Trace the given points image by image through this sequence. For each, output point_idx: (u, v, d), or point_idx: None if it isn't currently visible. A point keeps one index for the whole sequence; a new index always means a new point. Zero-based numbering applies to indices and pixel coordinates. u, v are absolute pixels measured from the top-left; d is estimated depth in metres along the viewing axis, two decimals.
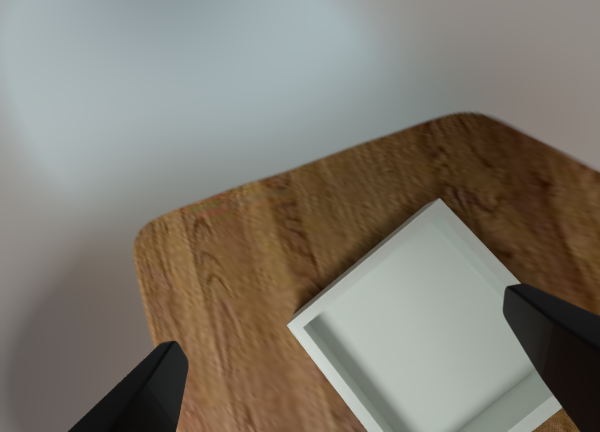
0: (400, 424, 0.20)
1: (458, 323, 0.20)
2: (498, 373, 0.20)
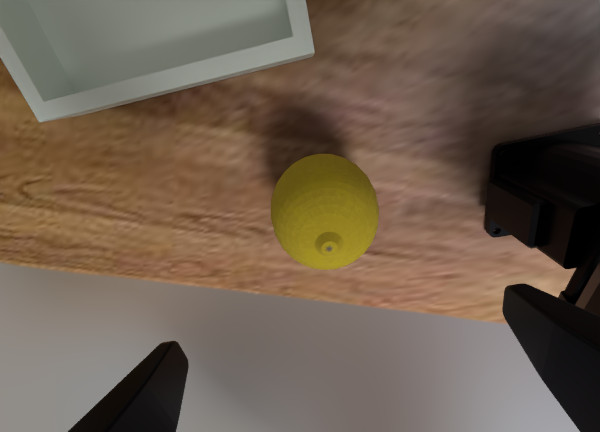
0: (242, 41, 0.15)
1: None
2: None
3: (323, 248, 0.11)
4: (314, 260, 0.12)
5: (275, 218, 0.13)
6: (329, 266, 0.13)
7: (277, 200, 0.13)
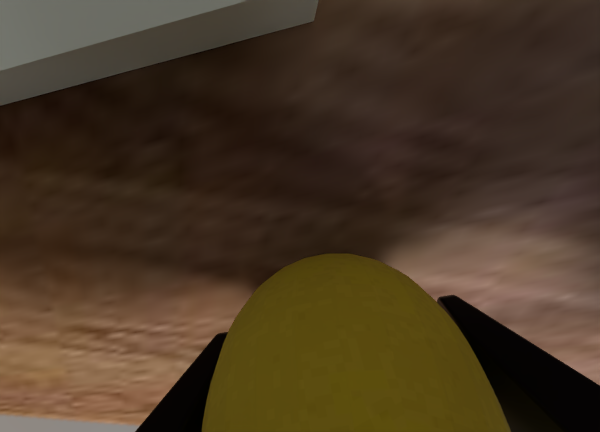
0: None
1: None
2: None
3: None
4: None
5: None
6: None
7: None
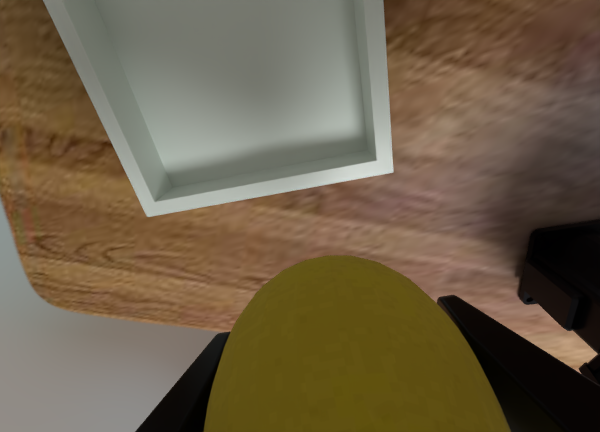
0: (322, 148, 0.17)
1: None
2: None
3: None
4: None
5: None
6: None
7: None
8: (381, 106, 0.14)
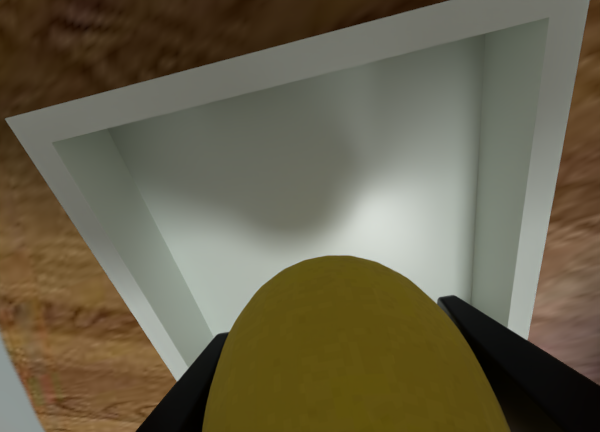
0: None
1: (329, 180, 0.10)
2: (443, 161, 0.10)
3: None
4: None
5: None
6: None
7: None
8: (520, 318, 0.10)
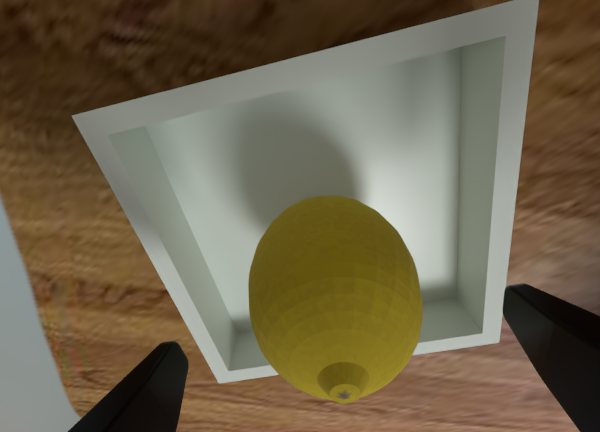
0: None
1: (331, 169, 0.12)
2: (429, 153, 0.12)
3: (332, 393, 0.06)
4: (317, 395, 0.07)
5: (252, 314, 0.08)
6: None
7: (255, 284, 0.08)
8: (496, 288, 0.12)
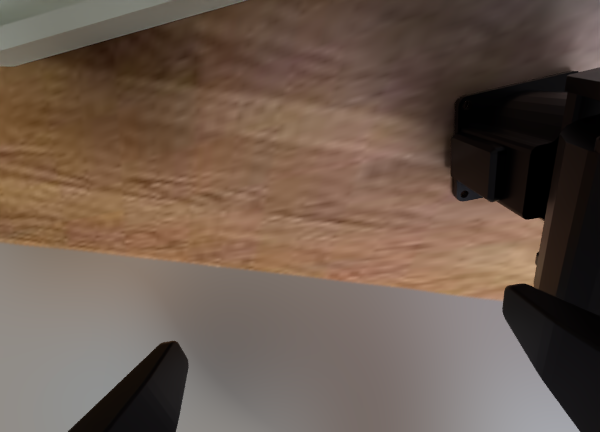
0: None
1: None
2: None
3: None
4: None
5: None
6: None
7: None
8: None
